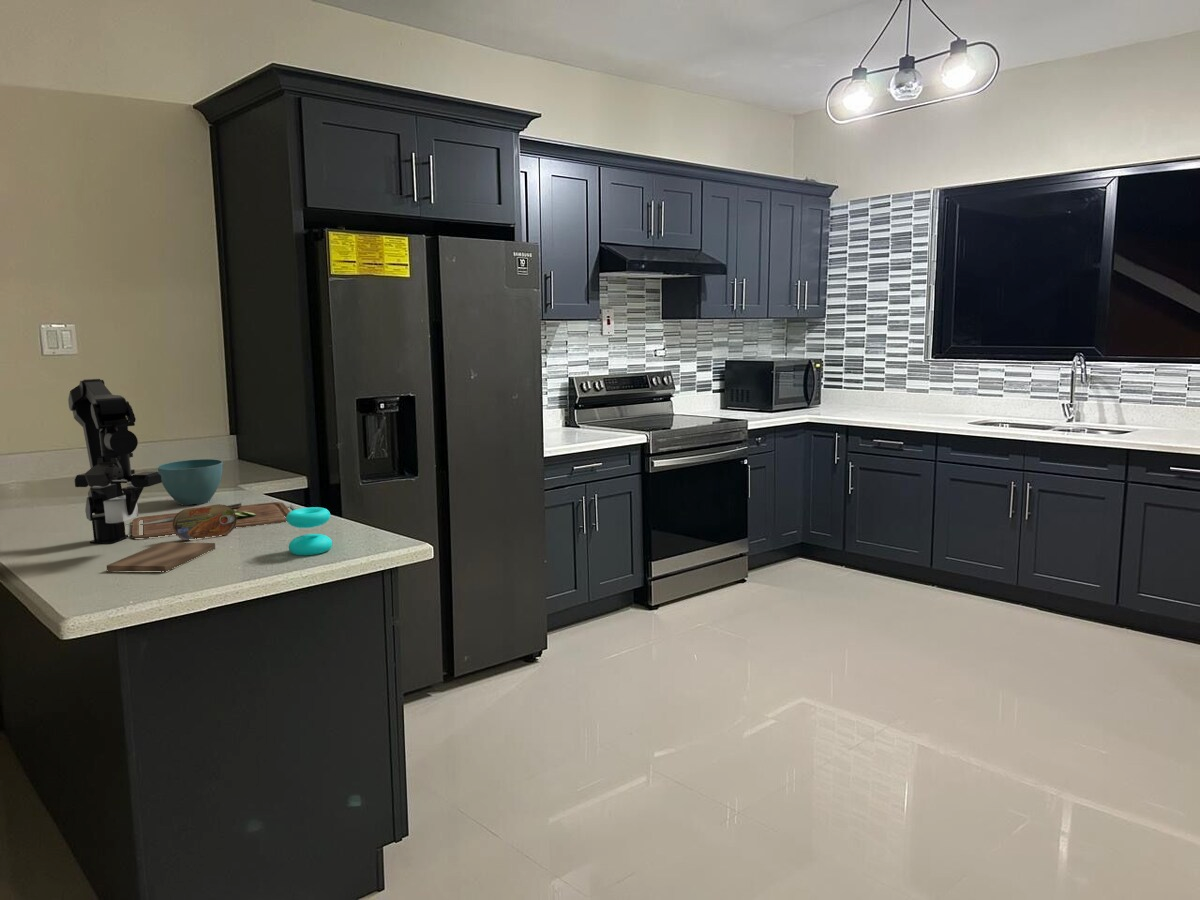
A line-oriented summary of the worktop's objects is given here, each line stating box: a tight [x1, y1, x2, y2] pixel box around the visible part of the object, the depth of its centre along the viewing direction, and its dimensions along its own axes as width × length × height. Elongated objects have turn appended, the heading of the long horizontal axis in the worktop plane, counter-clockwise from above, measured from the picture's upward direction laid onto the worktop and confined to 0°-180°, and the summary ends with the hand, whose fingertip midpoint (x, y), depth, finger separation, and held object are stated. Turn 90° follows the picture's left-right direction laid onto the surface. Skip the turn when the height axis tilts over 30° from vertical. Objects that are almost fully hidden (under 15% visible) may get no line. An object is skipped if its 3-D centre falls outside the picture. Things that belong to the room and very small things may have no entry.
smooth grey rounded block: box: [104, 495, 139, 523], centre depth 205 cm, size 4×9×5 cm, turn 174°
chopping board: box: [124, 501, 297, 539], centre depth 241 cm, size 45×27×3 cm, turn 118°
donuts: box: [286, 506, 333, 556], centre depth 205 cm, size 10×10×10 cm
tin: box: [173, 503, 237, 541], centre depth 221 cm, size 15×3×8 cm, turn 126°
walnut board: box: [106, 542, 216, 573], centre depth 201 cm, size 14×20×2 cm
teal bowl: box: [157, 458, 224, 506], centre depth 265 cm, size 18×18×12 cm
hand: (121, 514), depth 206 cm, fingers closed on smooth grey rounded block, 4 cm apart
